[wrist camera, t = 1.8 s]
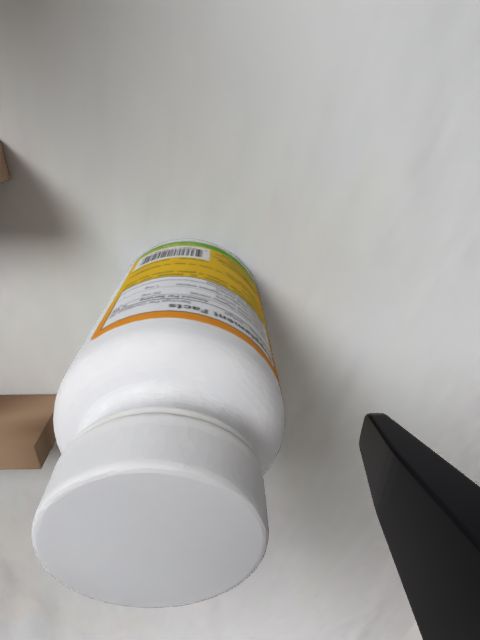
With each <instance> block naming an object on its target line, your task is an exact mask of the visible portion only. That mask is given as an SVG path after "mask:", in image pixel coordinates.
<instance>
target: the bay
mask: <svg viewBox="0 0 480 640" xmlns="http://www.w3.org/2000/svg"><path fill="white" fill-rule="evenodd" d="M7 180H10V178H9V174H8V170H7V166H6V161H5V157H4V153H3V149H2V145H1V141H0V182H4V181H7ZM56 396H57V394H52V395H0V470H2V469H41V468H42V466H43V464H44V462H45V460H46V458H47V456H48V454H49V452H50V450H51V448H52V446H53V444H54V442H55V440H56V437H55V433H54V424H53V416H54V405H55V400H56Z"/></svg>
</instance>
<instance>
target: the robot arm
mask: <svg viewBox="0 0 480 640" xmlns="http://www.w3.org/2000/svg"><path fill="white" fill-rule="evenodd" d="M359 446H360V451H361V455H362V459H363V463H364V467H365V471H366V475H367V479H368V483H369V487H370V491H371V495H372V499H373V502H374V506H375V510H376V513H377V516H378V519H379V522H380V525H381V527H382V530H383V533H384V535H385V538H386V541H387V543H388V546H389V549H390V552H391V554H392V557H393V560H394V562H395V565H396V568H397V571H398V573H399V576H400V579H401V581H402V584H403V587H404V589H405V592H406V595H407V598H408V600H409V603H410V606H411V608H412V611H413V614H414V616H415V619H416V622H417V625H418V627H419V630H420V633H421V635H422V638H423V640H480V487H479V486H478V485H477V484H475V483H474V482H473V481H472V480H470V479H469V478H468V477H466V476H465V475H464V474H462V473H461V472H460V471H459V470H457V469H456V468H455V467H453V466H452V465H451V464H450V463H448V462H447V461H446V460H444V459H443V458H442V457H440V456H439V455H438V454H437V453H435V452H434V451H433V450H431V449H430V448H429V447H427V446H426V445H425V444H424V443H422V442H421V441H420V440H418V439H417V438H416V437H414V436H413V435H412V434H411V433H409V432H408V431H407V430H405V429H404V428H403V427H401V426H400V425H399V424H398V423H396V422H395V421H394V420H392V419H391V418H390V417H388V416H387V415H386V414H383V413H369V414H367V415H366V416H365V418H364V422H363V426H362V430H361V435H360V439H359Z"/></svg>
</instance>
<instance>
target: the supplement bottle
mask: <svg viewBox="0 0 480 640" xmlns="http://www.w3.org/2000/svg"><path fill="white" fill-rule="evenodd" d="M53 424H54V433H55V437H56V441H57V445H58V447H59V450H60V452H61V456H60V457H59V459H58V461H57V463H56V465H55V468H54V471H53V473H52V476H51V479H50V481H49V483H48V486H47V488H46V490H45V492H44V495H43V497H42V499H41V501H40V504H39V506H38V508H37V511H36V513H35V516H34V520H33V523H32V544H33V547H34V551H35V553H36V555H37V557H38V559H39V561H40V563H41V564H42V566H43V567H44V568H45V569H46V570H47V571H48V573H50V574H51V575H52V576H53V577H54V578H56V579H57V580H58V581H59V582H60V583H62V584H63V585H65V586H66V587H68V588H70V589H72V590H74V591H76V592H78V593H80V594H82V595H84V596H87V597H89V598H92V599H96V600H100V601H103V602H106V603H111V604H116V605H121V606H130V607H141V608H163V607H177V606H183V605H188V604H191V603H195V602H200V601H204V600H207V599H210V598H213V597H216V596H218V595H220V594H222V593H224V592H227V591H229V590H230V589H232V588H234V587H236V586H237V585H239V584H240V583H241V582H242V581H244V580H245V579H246V578H247V577H248V576H250V575H251V574H252V573H253V572H254V571H255V569H256V568H257V566H258V565H259V563H260V562H261V560H262V558H263V557H264V554H265V552H266V548H267V544H268V534H269V529H268V518H267V507H266V498H265V489H264V479H263V475H264V474H265V473H266V471H267V470H268V469H269V467H270V466H271V465H272V463H273V461H274V459H275V457H276V455H277V453H278V451H279V449H280V446H281V443H282V439H283V435H284V428H285V412H284V404H283V399H282V393H281V388H280V384H279V380H278V375H277V371H276V367H275V363H274V358H273V354H272V350H271V346H270V341H269V337H268V332H267V328H266V323H265V319H264V314H263V309H262V305H261V301H260V297H259V293H258V290H257V287H256V284H255V282H254V280H253V278H252V276H251V274H250V272H249V271H248V270H247V268H246V267H245V266H244V264H243V263H242V262H241V261H240V260H239V259H238V258H237V257H236V256H234V255H233V254H232V253H231V252H229V251H228V250H226V249H224V248H222V247H220V246H218V245H215V244H213V243H210V242H206V241H201V240H194V239H179V240H172V241H168V242H164V243H161V244H159V245H156V246H155V247H153V248H151V249H149V250H147V251H146V252H144V253H143V254H142V255H141V256H139V257H138V258H137V259H136V260H135V261H134V262H133V264H132V265H131V266H130V268H129V269H128V271H127V272H126V273H125V275H124V277H123V278H122V280H121V282H120V283H119V285H118V287H117V288H116V290H115V292H114V293H113V295H112V297H111V298H110V300H109V302H108V304H107V305H106V307H105V309H104V310H103V312H102V314H101V315H100V317H99V319H98V320H97V322H96V324H95V325H94V327H93V329H92V330H91V332H90V334H89V335H88V337H87V339H86V340H85V342H84V344H83V345H82V347H81V348H80V350H79V352H78V353H77V355H76V357H75V358H74V360H73V362H72V363H71V365H70V367H69V369H68V371H67V372H66V374H65V376H64V378H63V380H62V382H61V385H60V387H59V390H58V393H57V396H56V400H55V405H54V416H53Z"/></svg>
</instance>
